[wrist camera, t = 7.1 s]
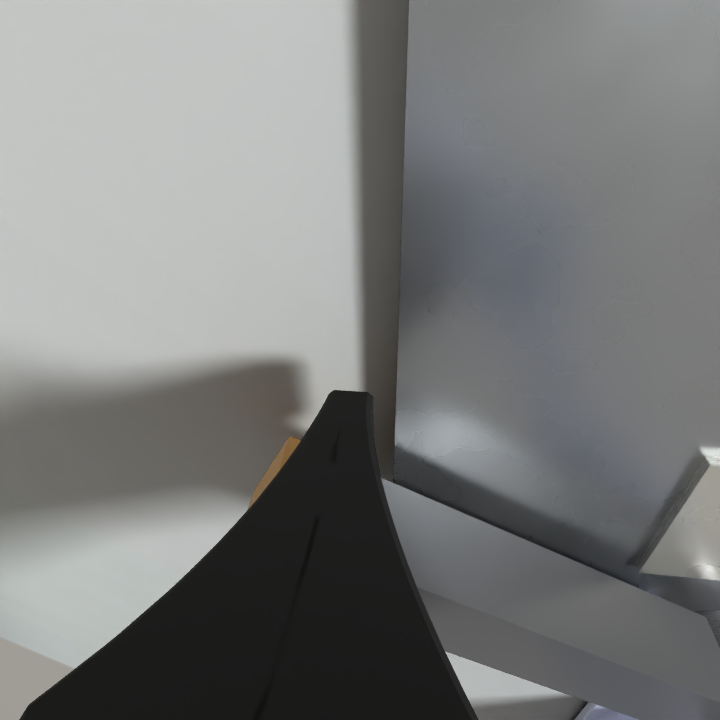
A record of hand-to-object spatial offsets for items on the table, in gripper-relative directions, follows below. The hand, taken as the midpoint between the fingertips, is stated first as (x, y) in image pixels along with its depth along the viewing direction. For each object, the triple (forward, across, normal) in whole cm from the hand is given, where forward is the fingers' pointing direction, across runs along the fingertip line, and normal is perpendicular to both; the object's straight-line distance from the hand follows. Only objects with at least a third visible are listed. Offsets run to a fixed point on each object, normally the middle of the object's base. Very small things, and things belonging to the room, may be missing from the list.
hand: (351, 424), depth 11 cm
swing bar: (0, -4, +6) cm, 7 cm away
